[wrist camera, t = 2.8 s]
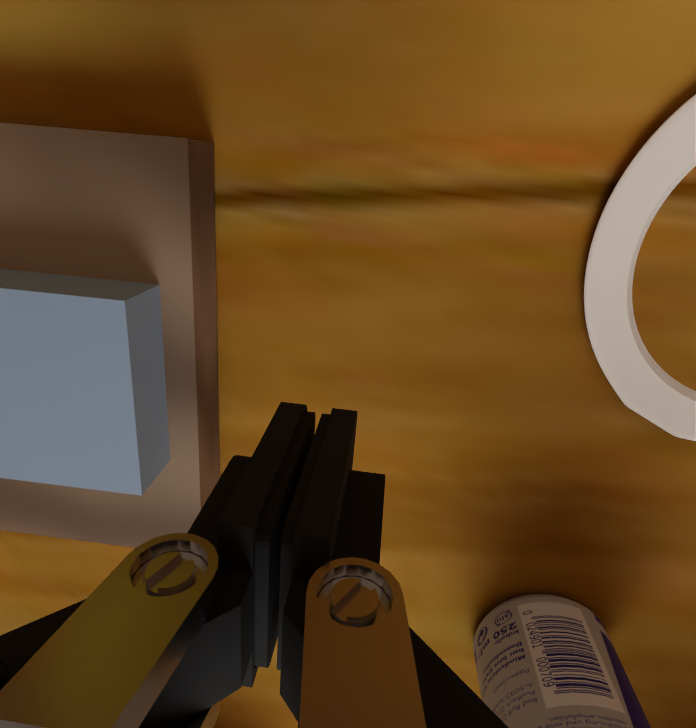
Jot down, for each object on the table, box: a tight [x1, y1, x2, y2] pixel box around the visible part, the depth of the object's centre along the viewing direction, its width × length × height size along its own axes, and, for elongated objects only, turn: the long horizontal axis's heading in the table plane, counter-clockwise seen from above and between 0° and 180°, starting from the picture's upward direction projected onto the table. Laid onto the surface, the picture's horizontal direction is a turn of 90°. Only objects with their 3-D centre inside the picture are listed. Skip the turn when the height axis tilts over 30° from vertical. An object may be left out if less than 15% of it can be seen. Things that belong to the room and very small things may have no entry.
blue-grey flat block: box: [0, 269, 170, 496], centre depth 15 cm, size 6×9×2 cm, turn 85°
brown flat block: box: [0, 122, 220, 548], centre depth 17 cm, size 14×10×2 cm
